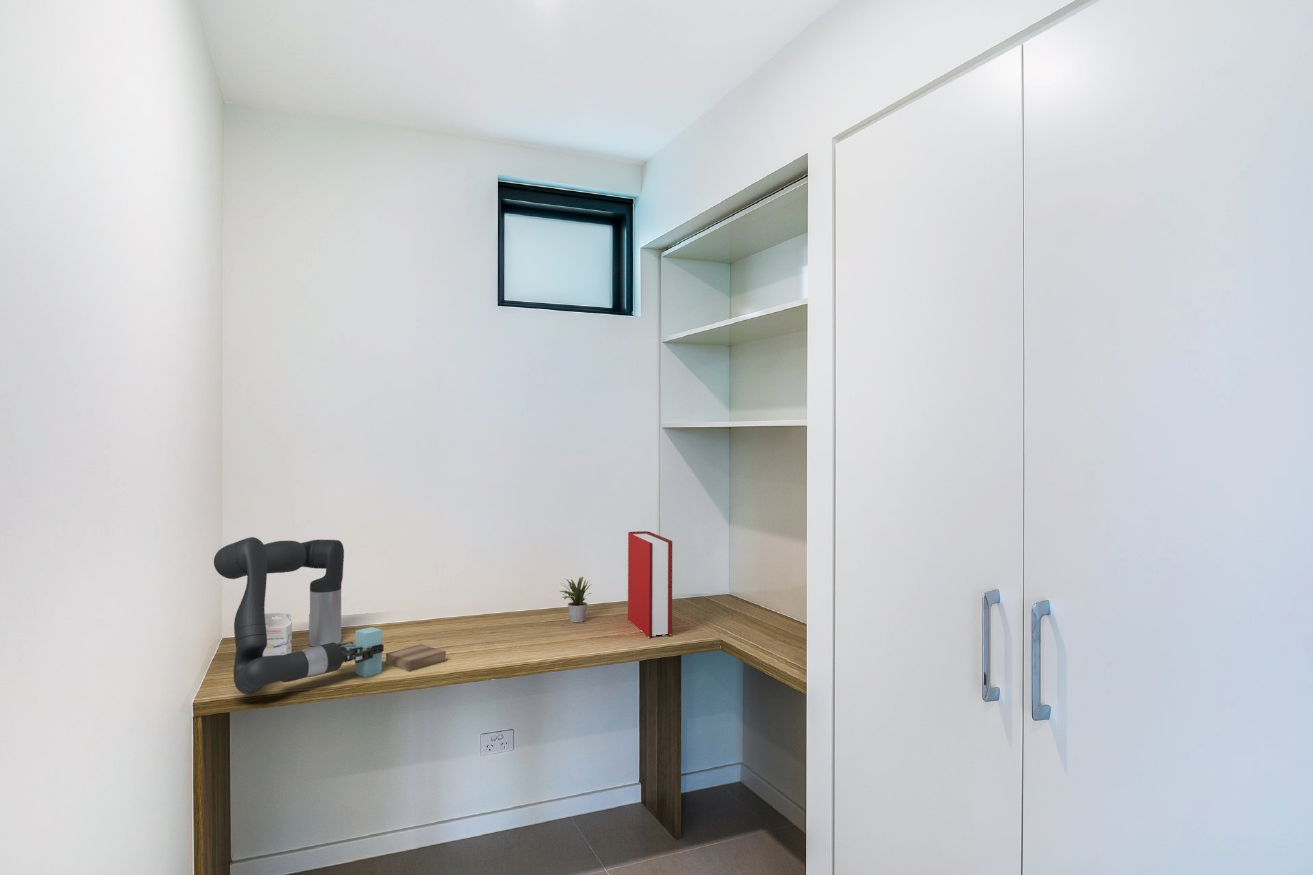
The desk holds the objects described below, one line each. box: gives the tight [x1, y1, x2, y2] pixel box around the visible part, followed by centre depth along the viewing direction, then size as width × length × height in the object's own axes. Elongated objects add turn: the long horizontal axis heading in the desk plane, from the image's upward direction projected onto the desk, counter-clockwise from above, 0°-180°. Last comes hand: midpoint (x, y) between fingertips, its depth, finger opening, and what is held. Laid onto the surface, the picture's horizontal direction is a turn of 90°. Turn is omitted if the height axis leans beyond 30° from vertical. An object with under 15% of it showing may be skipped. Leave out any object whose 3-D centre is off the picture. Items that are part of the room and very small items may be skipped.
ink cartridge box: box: [263, 612, 293, 657], centre depth 214 cm, size 9×5×15 cm, turn 99°
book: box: [627, 530, 673, 638], centre depth 258 cm, size 27×8×32 cm, turn 18°
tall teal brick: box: [354, 626, 383, 678], centre depth 207 cm, size 5×5×12 cm
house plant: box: [559, 576, 591, 623], centre depth 268 cm, size 14×14×16 cm
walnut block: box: [385, 643, 447, 672], centre depth 217 cm, size 12×12×3 cm
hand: (376, 645), depth 209 cm, fingers closed on tall teal brick, 5 cm apart
